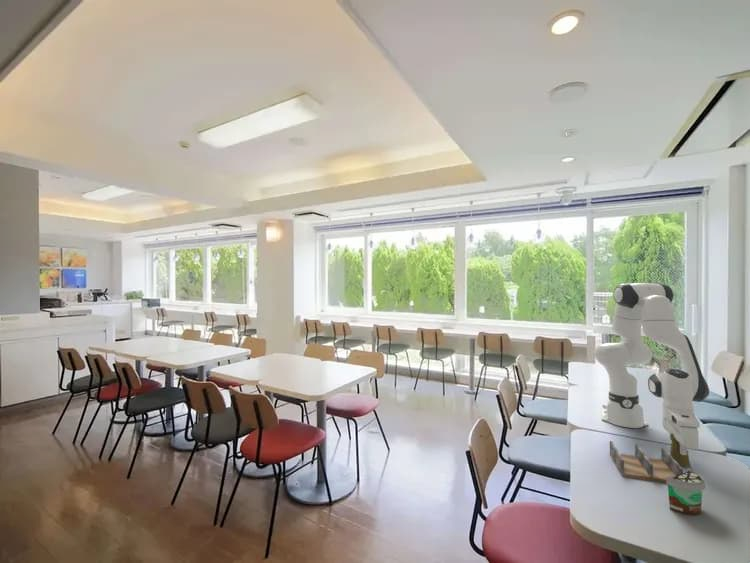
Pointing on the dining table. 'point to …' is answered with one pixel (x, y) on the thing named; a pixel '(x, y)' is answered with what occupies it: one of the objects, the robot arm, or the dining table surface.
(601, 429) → the dining table surface
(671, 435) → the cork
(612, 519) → the dining table surface
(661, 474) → the slot rack
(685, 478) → the food container
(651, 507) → the dining table surface
